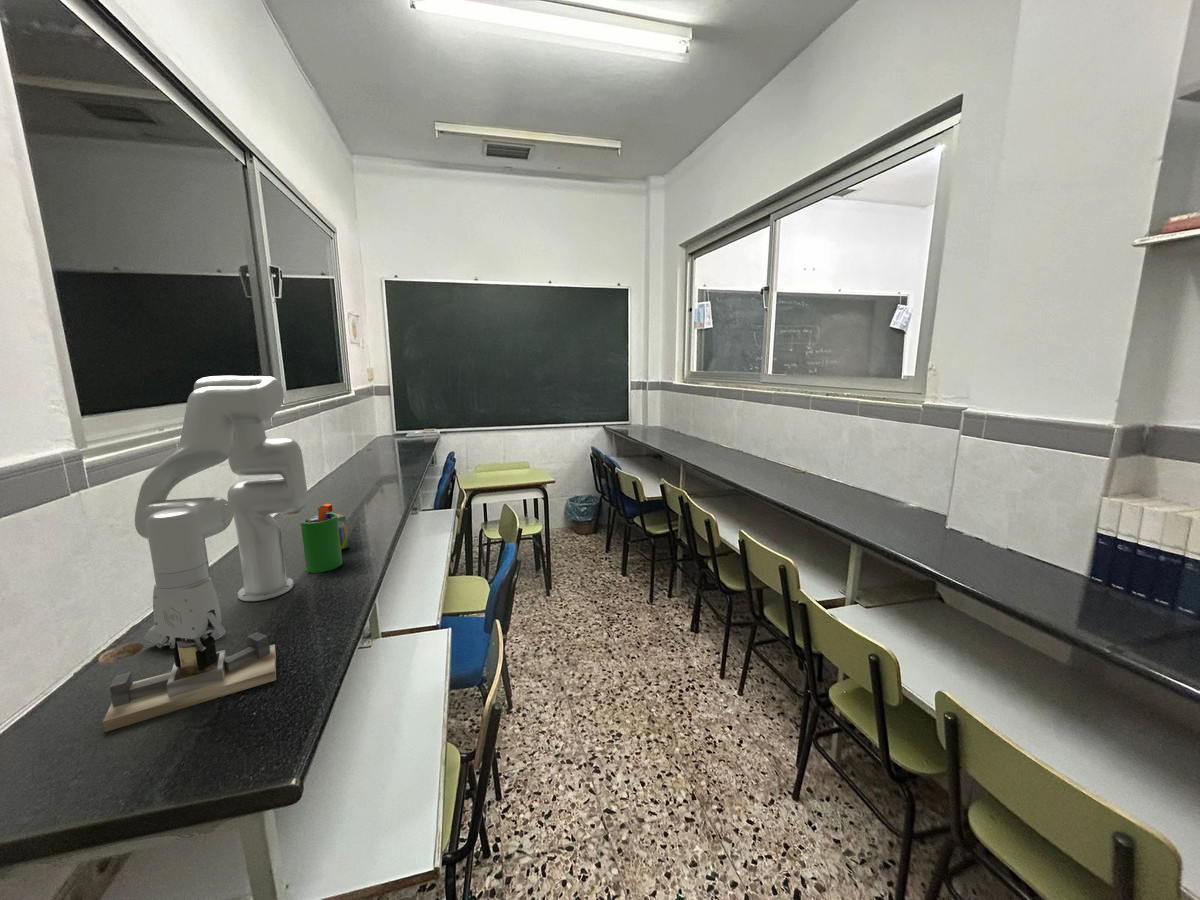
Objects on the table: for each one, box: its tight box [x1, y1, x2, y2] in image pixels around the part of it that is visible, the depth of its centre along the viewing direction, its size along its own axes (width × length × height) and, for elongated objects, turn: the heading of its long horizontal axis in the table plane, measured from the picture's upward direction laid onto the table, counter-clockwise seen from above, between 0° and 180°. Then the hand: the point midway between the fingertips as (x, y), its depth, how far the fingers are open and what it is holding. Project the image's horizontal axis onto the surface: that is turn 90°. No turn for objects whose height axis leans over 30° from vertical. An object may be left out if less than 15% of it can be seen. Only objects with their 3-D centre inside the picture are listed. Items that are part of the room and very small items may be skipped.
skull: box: [144, 624, 175, 649], centre depth 105 cm, size 8×9×12 cm
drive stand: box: [102, 631, 277, 733], centre depth 90 cm, size 11×24×6 cm, turn 125°
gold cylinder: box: [177, 634, 213, 678], centre depth 89 cm, size 4×4×7 cm
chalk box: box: [304, 507, 350, 551], centre depth 158 cm, size 9×9×15 cm
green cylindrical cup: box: [300, 503, 343, 574], centre depth 144 cm, size 10×9×20 cm
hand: (196, 663), depth 89 cm, fingers closed on gold cylinder, 4 cm apart
